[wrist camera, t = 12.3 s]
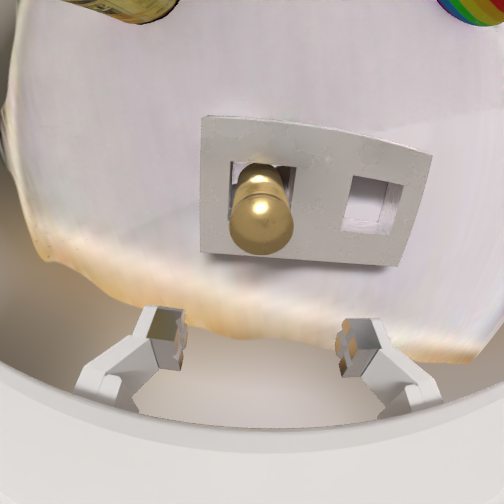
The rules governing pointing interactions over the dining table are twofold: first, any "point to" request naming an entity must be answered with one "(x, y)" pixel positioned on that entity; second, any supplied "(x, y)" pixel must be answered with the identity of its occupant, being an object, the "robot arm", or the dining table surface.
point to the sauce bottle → (130, 9)
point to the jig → (313, 187)
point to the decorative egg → (475, 11)
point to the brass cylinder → (260, 211)
